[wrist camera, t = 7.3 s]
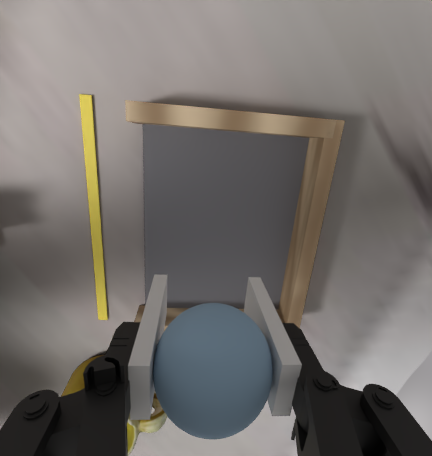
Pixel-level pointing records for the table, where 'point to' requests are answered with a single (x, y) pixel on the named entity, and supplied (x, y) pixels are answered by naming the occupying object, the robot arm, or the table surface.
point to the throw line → (93, 201)
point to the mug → (133, 425)
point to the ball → (212, 371)
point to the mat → (218, 211)
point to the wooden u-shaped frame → (309, 191)
